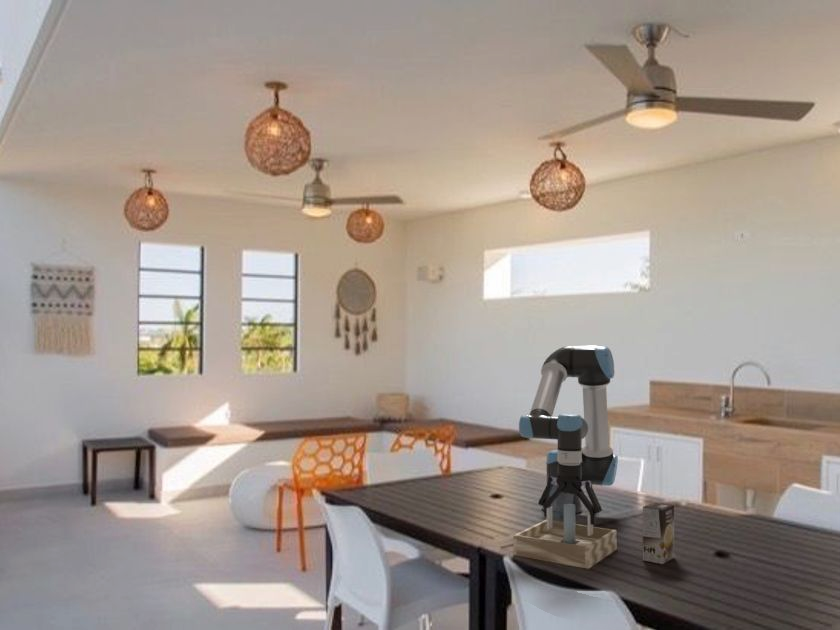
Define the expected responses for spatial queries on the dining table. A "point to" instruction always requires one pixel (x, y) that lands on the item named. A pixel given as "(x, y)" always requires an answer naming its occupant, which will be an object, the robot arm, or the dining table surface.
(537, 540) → the box
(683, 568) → the dining table surface
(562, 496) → the moka pot
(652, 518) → the coffee box
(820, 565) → the dining table surface
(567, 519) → the peg
